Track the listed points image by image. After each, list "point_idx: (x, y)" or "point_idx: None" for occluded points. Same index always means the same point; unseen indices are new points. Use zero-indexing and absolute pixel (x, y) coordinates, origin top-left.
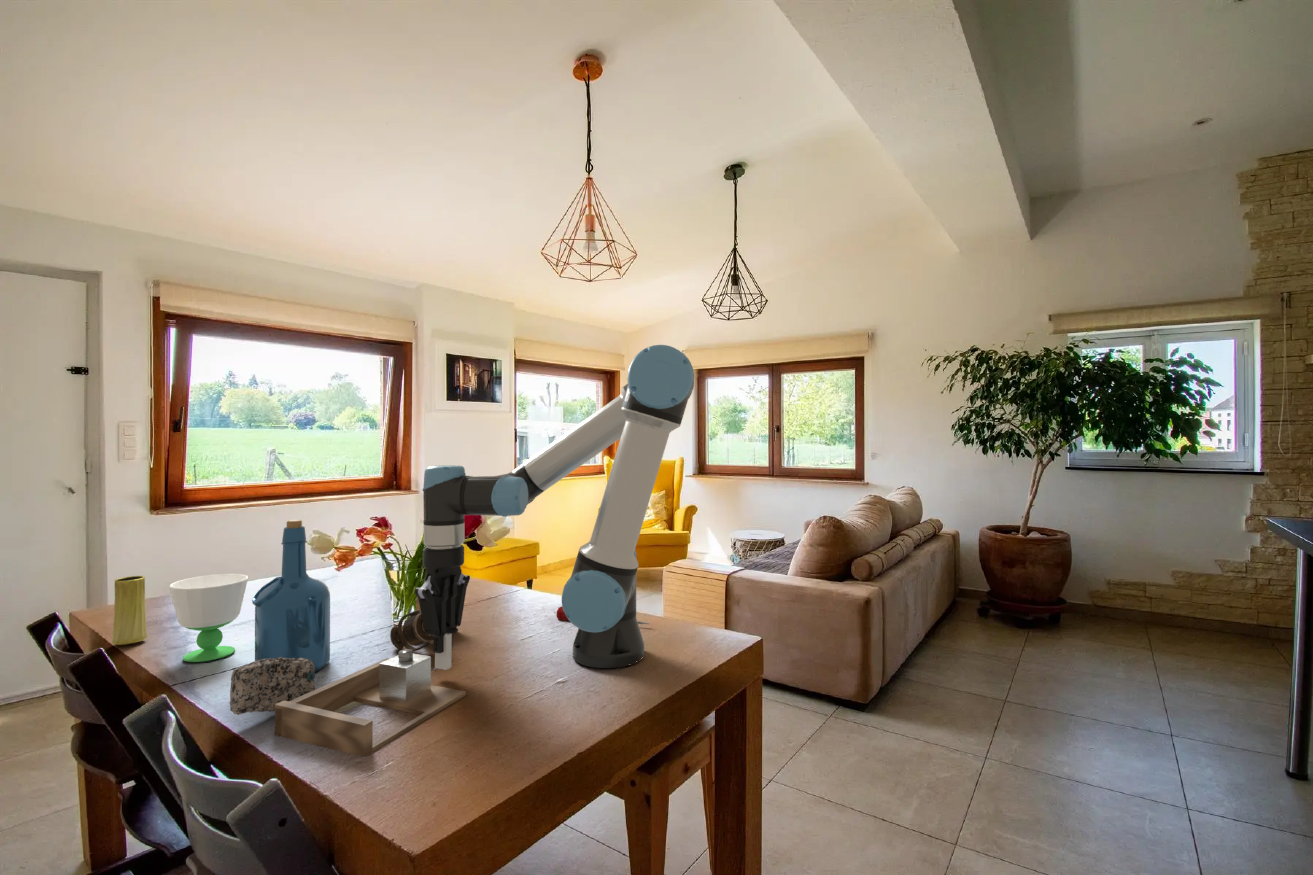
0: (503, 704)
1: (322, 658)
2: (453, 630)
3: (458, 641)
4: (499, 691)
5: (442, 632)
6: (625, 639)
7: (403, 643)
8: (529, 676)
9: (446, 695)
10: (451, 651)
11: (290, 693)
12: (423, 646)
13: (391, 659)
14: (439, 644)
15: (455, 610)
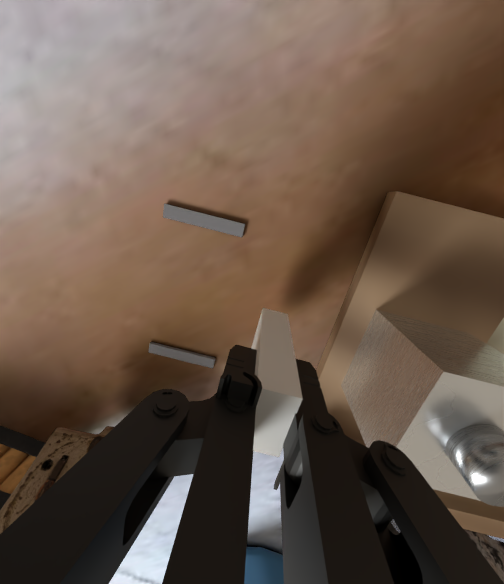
0: (460, 7)
1: (253, 574)
2: (260, 390)
3: (19, 383)
4: (340, 86)
5: (337, 434)
6: None
7: None
8: (192, 13)
9: (425, 243)
10: (260, 333)
11: (499, 565)
12: None
13: (462, 487)
14: (321, 391)
15: (106, 549)
